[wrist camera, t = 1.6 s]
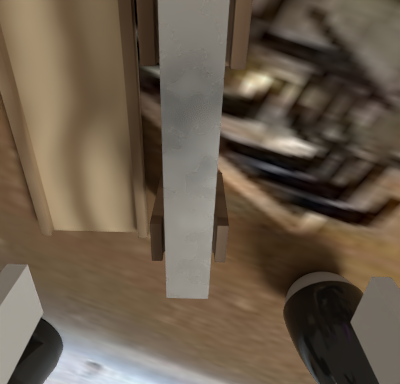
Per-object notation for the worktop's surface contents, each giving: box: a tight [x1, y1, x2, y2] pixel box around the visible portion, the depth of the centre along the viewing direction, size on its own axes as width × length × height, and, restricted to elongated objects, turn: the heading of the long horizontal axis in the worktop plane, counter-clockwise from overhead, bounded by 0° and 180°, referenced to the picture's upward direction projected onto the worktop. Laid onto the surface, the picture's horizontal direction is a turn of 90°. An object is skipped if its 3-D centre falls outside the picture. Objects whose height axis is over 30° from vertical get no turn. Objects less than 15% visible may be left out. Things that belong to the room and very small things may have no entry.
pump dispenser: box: [283, 272, 379, 384], centre depth 36 cm, size 10×10×15 cm
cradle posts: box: [136, 0, 253, 262], centre depth 26 cm, size 6×20×9 cm, turn 178°
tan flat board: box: [0, 0, 149, 238], centre depth 29 cm, size 12×28×1 cm, turn 178°
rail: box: [158, 0, 230, 299], centre depth 22 cm, size 4×24×4 cm, turn 178°
